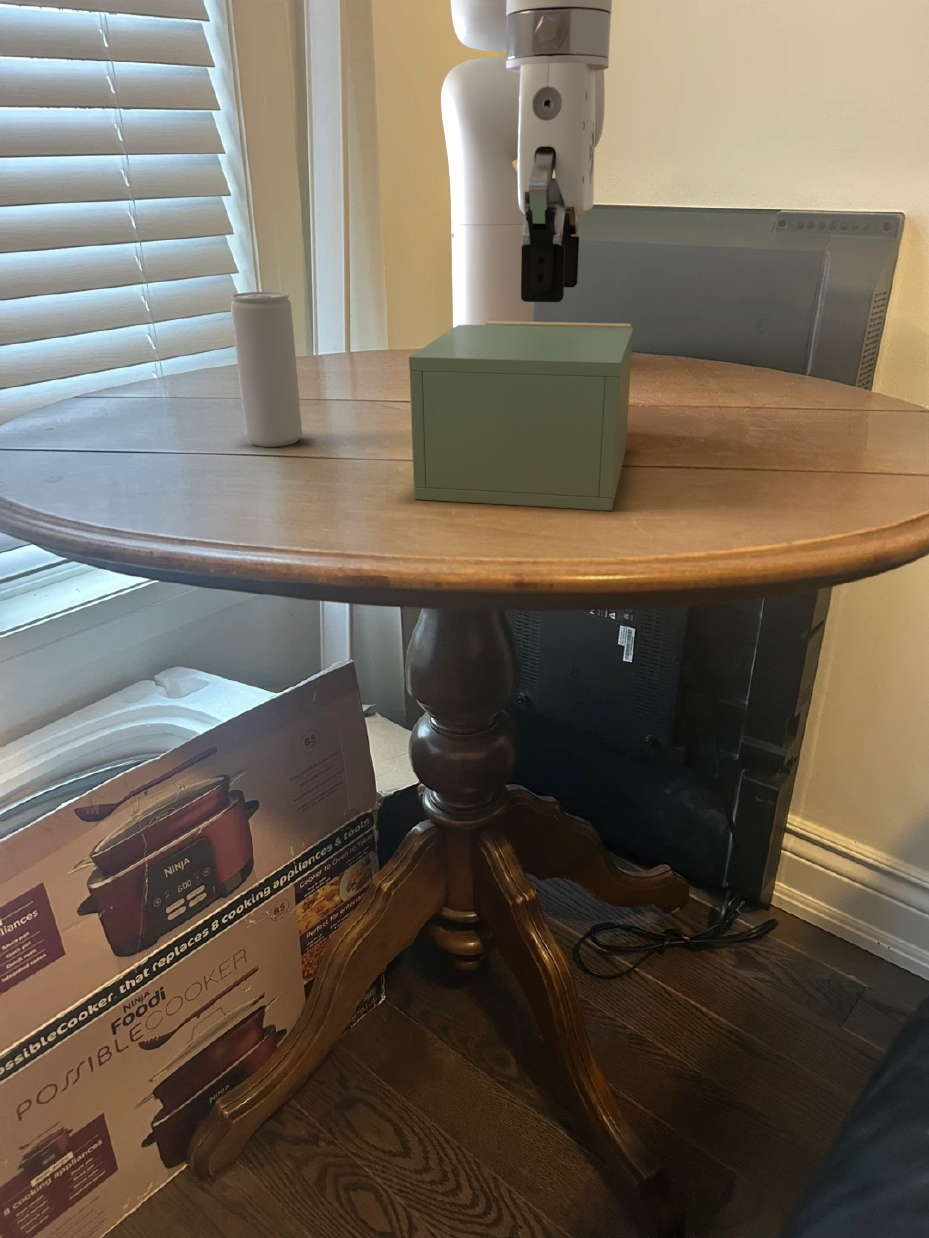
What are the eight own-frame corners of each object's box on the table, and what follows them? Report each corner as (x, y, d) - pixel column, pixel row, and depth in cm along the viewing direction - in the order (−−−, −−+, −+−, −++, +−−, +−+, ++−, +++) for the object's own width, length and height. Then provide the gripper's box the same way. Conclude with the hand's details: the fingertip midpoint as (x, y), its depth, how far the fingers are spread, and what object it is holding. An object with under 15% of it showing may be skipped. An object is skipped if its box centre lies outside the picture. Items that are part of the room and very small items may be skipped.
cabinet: (459, 445, 78) (458, 324, 74) (625, 452, 75) (633, 328, 71) (413, 499, 65) (408, 356, 61) (611, 511, 62) (620, 362, 58)
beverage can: (290, 449, 77) (276, 298, 72) (237, 447, 78) (219, 298, 73) (310, 435, 82) (298, 291, 77) (259, 432, 83) (244, 291, 77)
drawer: (497, 399, 90) (497, 314, 86) (628, 403, 87) (634, 316, 84) (455, 448, 74) (453, 346, 70) (614, 455, 71) (621, 350, 68)
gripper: (599, 29, 59) (586, 309, 67) (617, 57, 74) (605, 282, 82) (483, 34, 61) (484, 307, 68) (525, 60, 76) (521, 281, 83)
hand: (550, 293), depth 75 cm, fingers open, 9 cm apart
